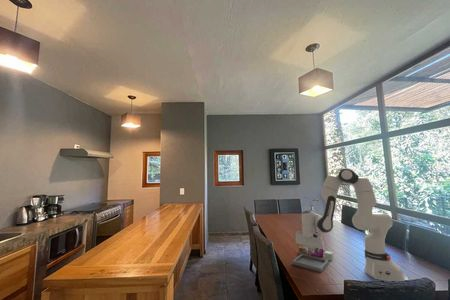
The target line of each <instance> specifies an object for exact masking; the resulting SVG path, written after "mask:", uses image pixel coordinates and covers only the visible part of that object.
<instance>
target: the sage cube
mask: <svg viewBox="0 0 450 300" xmlns="http://www.w3.org/2000/svg"><path fill="white" fill-rule="evenodd" d="M323 256H324V259H326V260H329V261H333V260H334V252H333V251H328V250H325V251H323Z"/></svg>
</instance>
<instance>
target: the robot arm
mask: <svg viewBox="0 0 450 300" xmlns="http://www.w3.org/2000/svg"><path fill="white" fill-rule="evenodd" d="M370 181H371V180H369V178H367V177H365V176H359V175H358V174H357V173H356V172H355V171H354V170H353V169H351V168H347V167H346V168H342V169H341V170H339V172H338V175H336V174H335V175H333V174H329V175H327V176H326V178H325V180H324V182H323V184H322V188H321V191H320V195H321V197H322V200H323V201H324V204H325V205H324V209H323V215H321V214H318V213H316V212H314V211H313V210H304V211H302V213H301V224H302V225H301V226H302V228H301V229H302V230H301V231H299V230H297V231H295V244H297V245H300V246H304V247H305V249H306V252H307V253H308V251H309V250H308V246H311V247H313V250H311V253H314V250H315V248H320V249H323V248H324V249H325V242H324V238H323V234H322V233H324V234H325V233H326V234H327V233H330V232H331V231H333V228H334V221H333V219H334V213H335V210H336V205H337V197H338V193H339V190H340V187H341V186H346V187H347V186H352V188H353V189H354V193H355V197H356V202H357V207H356V212H355V213H354V214H353V216H352V218H351V222H352V225H353V226H354V227H355V228H356V229H358V230H362V231H369V232H368V233H367V234H366V235H365V236H364V239H363V240H364V251H363V252H364V258H365V267H364V273H366V274H367V275H369V276H371V277H372V278H373V279H375V280H379V281H384V282H389V281H403V280H409V277H408V275H406V274H404V272H403V270H402V267H401V266H400V265H398V264H397V263H396V262H395V261H393V260H392V259H391V255H390V253H388V252H386V242H385V241H386V236H387V233H388V231H389V230H390V229H391V228H392V227H393V226H394V225H393V224H394V221H393V219H392V218H393V217H391V215H389V214H387V213H384V212H373V208H374V207H375V206H376V205H377V198H376V195H375V191H374V188H373V186H372V183H371V182H370ZM316 229H318V230H319V231H320V232H319V231H317V230H316ZM321 232H322V233H321Z"/></svg>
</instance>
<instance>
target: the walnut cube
mask: <svg viewBox="0 0 450 300" xmlns="http://www.w3.org/2000/svg"><path fill="white" fill-rule="evenodd" d="M301 254H305V255H308V252H306V249H305V247H304V245H299V246H298V255H301Z"/></svg>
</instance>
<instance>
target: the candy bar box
mask: <svg viewBox="0 0 450 300" xmlns="http://www.w3.org/2000/svg"><path fill="white" fill-rule="evenodd" d="M307 249H308V250H309V251H308V252H307V255H309V256H314V257H318V258H324V251H323V249H320V248H315V250H314V253H311V250H313V247H311V246H307Z"/></svg>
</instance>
